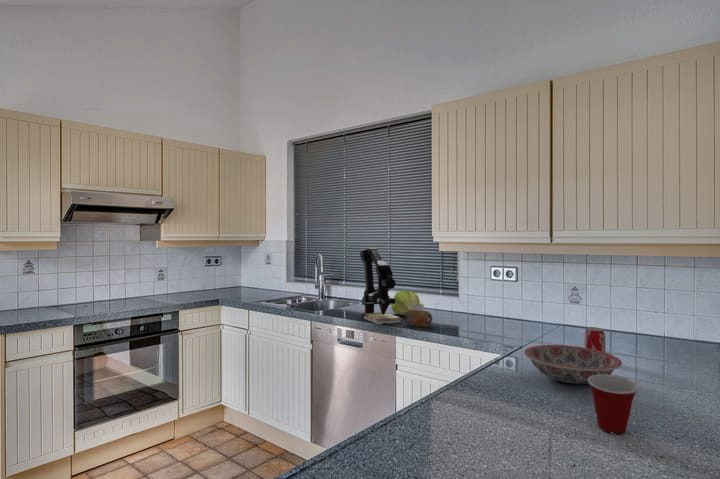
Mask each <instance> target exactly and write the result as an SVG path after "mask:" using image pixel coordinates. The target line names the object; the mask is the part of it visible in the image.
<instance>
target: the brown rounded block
mask: <svg viewBox="0 0 720 479" xmlns="http://www.w3.org/2000/svg"><path fill="white" fill-rule="evenodd" d="M403 316H404V317H403V318H404V319H403V320H404V322H405V323H406V325H407V326H409V325H410V327H418V326H419V327H421V328H426V327H429V326H431V324H432V322H433V317H432V314H431V312H429V311H427V310H424V311H419V310H409V311H407V312H406V313H405V315H403Z"/></svg>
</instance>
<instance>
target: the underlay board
mask: <svg viewBox="0 0 720 479" xmlns="http://www.w3.org/2000/svg"><path fill="white" fill-rule="evenodd" d="M386 313H387V312H385V314H386ZM374 314H382V313H381V311H380V312H374V313H368V314H365V315H364V316H363V319H365V320H367V321H369V322H371V321H372V323H374V324H376V325H384V324H383V323H387V324H396V323H397V322H398V323H402V322H401V319H400V320H396V321H385V322H377V321H375V320H373V319H370V318H368V315H374Z"/></svg>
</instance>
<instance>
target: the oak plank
mask: <svg viewBox="0 0 720 479" xmlns="http://www.w3.org/2000/svg"><path fill="white" fill-rule="evenodd" d="M368 318H370V319H373V320H375V321H377V322H385V321H396V320H401V317H400V316H397V315H394V314H391V313H389V312H386V314H384V315H382V314H374V315H368Z"/></svg>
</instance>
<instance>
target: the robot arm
mask: <svg viewBox="0 0 720 479" xmlns="http://www.w3.org/2000/svg"><path fill="white" fill-rule="evenodd" d="M359 256H360V260H361V262H362V264H363V265H364V266H363V267H364V277H365V289H364V291H363V296H362V299H361V300H360V301H361V305H363V306H364V312H362V314H363V315H364V316H365V314H368V313H375V305H379V310H380V312H381V313H382V315H384V314H385V312H386V311H387V310H388V307H389V306H390V305H392V304H395V299H394V297H390V295H389V291H390V290H392V289H394V288H395V287H396V285H397V284H396V280H395V279H394V278H393V277H394V276H393V270H392V268H391V266H390V265H389V263H388V262H386V261H384V260H383V258H382V257H381V255H380V253H379V252H378V248H376V247H369V248H367V249H362V250H361V251H360V252H359ZM373 263H374V265H375V273H376V275H377V276H376V278H377V288H375V284H374V272H373V271H374V270H373ZM386 313H387V312H386Z"/></svg>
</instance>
